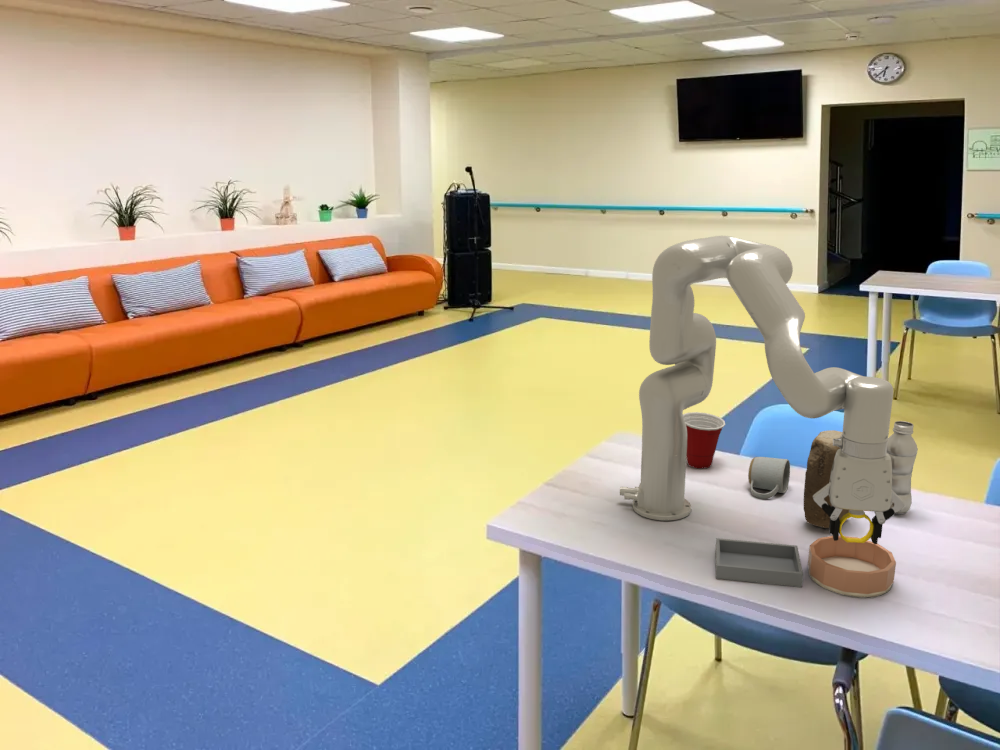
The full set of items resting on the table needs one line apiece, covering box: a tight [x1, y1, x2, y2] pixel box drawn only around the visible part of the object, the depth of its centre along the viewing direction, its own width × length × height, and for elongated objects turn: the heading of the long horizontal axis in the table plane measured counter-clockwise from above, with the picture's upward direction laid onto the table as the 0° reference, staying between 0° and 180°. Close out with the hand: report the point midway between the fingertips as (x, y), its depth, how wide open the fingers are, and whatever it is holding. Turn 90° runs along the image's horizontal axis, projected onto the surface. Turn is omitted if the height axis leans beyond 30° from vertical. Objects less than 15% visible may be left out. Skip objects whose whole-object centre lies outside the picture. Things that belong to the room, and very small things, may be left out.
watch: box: [839, 510, 874, 543], centre depth 158 cm, size 6×3×6 cm, turn 82°
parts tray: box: [715, 537, 804, 588], centre depth 165 cm, size 15×11×3 cm
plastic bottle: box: [887, 420, 919, 515], centre depth 185 cm, size 6×7×20 cm
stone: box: [803, 429, 849, 529], centre depth 180 cm, size 12×7×20 cm, turn 133°
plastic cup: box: [683, 411, 726, 469], centre depth 213 cm, size 11×11×12 cm
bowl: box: [807, 535, 897, 598], centre depth 161 cm, size 14×14×5 cm
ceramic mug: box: [747, 456, 791, 500], centre depth 198 cm, size 11×8×8 cm
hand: (854, 538), depth 159 cm, fingers closed on watch, 6 cm apart
